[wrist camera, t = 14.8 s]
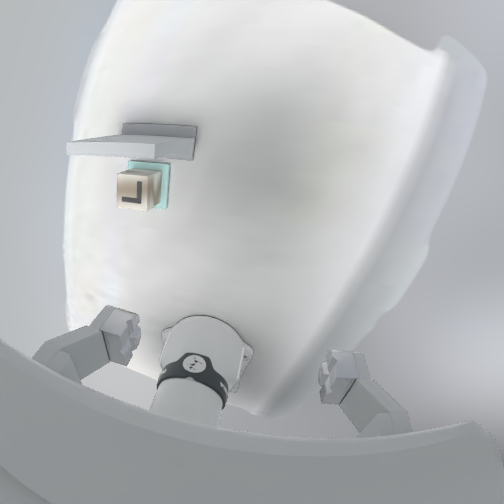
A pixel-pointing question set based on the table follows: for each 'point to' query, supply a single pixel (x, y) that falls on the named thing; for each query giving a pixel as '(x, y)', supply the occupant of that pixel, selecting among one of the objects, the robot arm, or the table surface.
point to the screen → (141, 142)
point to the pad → (165, 177)
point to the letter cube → (139, 189)
